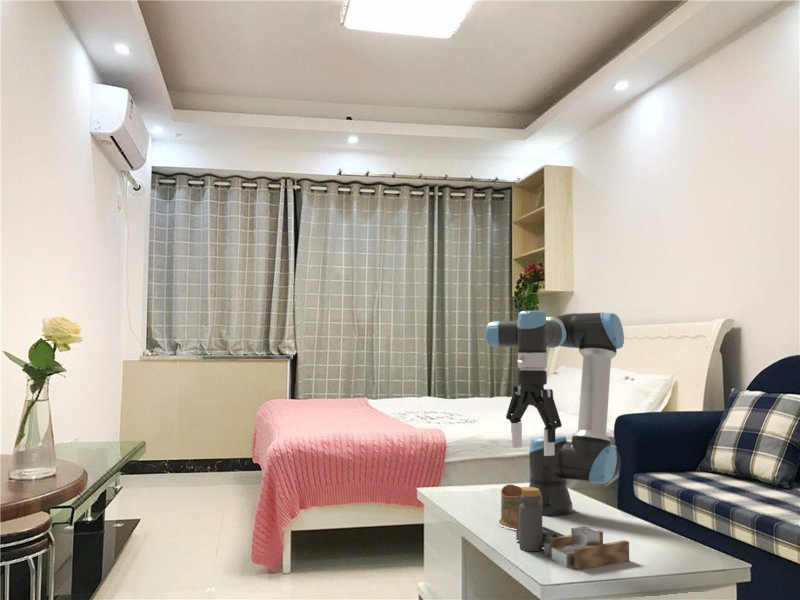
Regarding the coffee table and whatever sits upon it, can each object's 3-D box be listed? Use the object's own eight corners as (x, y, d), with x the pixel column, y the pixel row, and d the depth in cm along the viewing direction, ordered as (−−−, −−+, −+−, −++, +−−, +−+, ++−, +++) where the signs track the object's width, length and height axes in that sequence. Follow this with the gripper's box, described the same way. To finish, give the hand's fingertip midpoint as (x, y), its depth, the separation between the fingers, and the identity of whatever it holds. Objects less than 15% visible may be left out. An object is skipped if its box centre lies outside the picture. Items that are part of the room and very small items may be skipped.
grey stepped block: (584, 555, 154) (584, 526, 154) (599, 562, 149) (599, 532, 149) (551, 560, 150) (551, 530, 150) (566, 567, 145) (566, 536, 145)
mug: (523, 538, 166) (523, 493, 167) (490, 521, 183) (490, 480, 184) (559, 534, 171) (558, 490, 172) (523, 518, 187) (523, 478, 188)
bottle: (526, 552, 154) (525, 491, 156) (515, 546, 160) (514, 486, 161) (546, 550, 156) (546, 490, 158) (535, 544, 162) (534, 485, 163)
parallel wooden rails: (599, 548, 159) (599, 530, 159) (629, 560, 150) (629, 541, 150) (550, 556, 152) (550, 537, 153) (577, 569, 143) (577, 549, 144)
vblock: (541, 537, 168) (541, 525, 168) (575, 552, 156) (575, 539, 156) (514, 540, 164) (514, 529, 165) (547, 556, 152) (546, 544, 152)
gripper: (493, 367, 172) (493, 445, 170) (551, 371, 149) (551, 460, 148) (515, 367, 175) (515, 443, 173) (575, 371, 153) (576, 458, 151)
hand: (532, 451), depth 161 cm, fingers open, 13 cm apart
